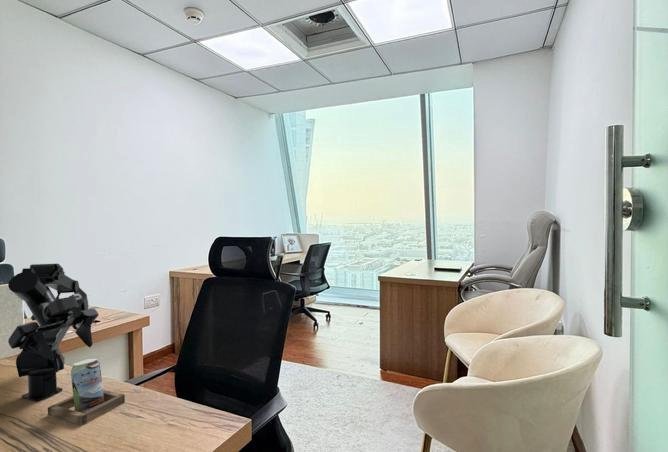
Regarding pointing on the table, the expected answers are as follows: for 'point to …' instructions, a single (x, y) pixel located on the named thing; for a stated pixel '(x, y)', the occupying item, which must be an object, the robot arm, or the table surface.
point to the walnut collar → (80, 418)
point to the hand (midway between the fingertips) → (73, 352)
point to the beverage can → (87, 384)
